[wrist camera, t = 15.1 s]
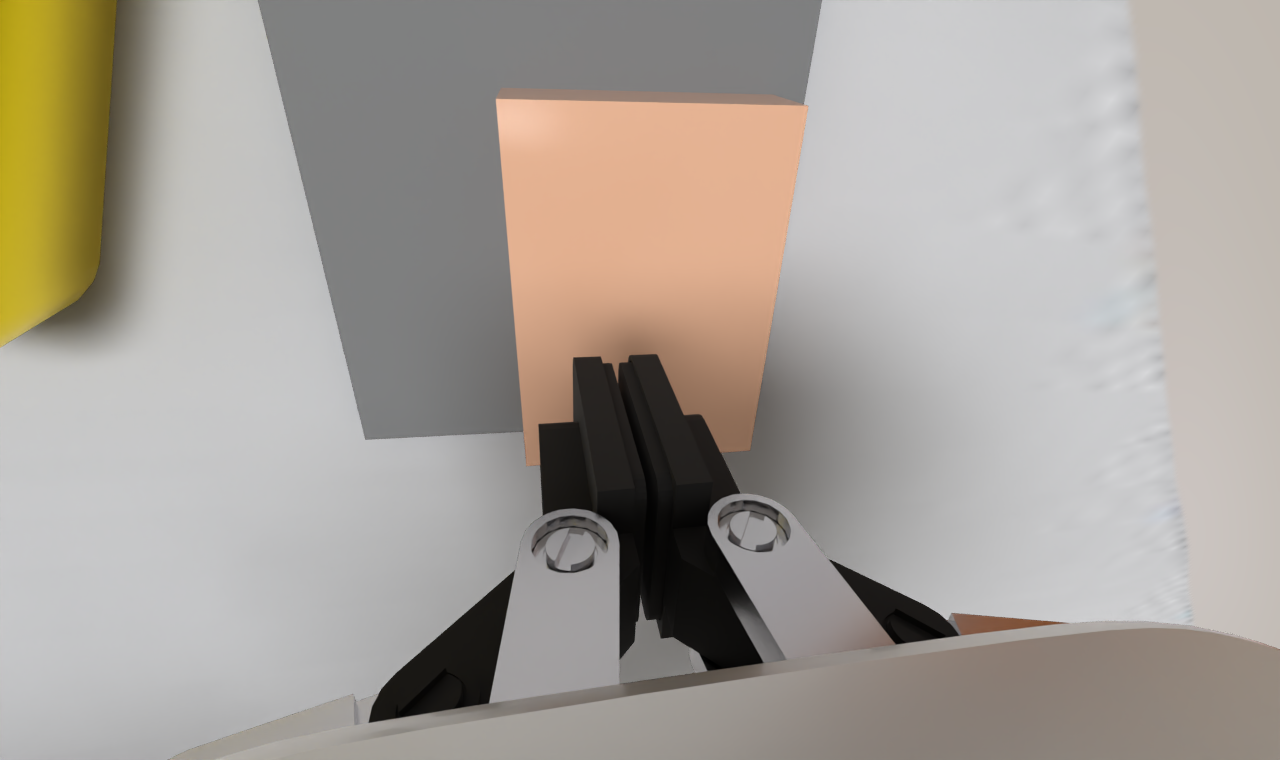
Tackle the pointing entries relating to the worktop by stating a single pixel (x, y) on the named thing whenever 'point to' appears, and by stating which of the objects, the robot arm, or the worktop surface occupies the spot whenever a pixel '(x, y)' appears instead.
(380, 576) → the worktop surface
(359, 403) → the mat
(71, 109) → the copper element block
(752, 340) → the block
